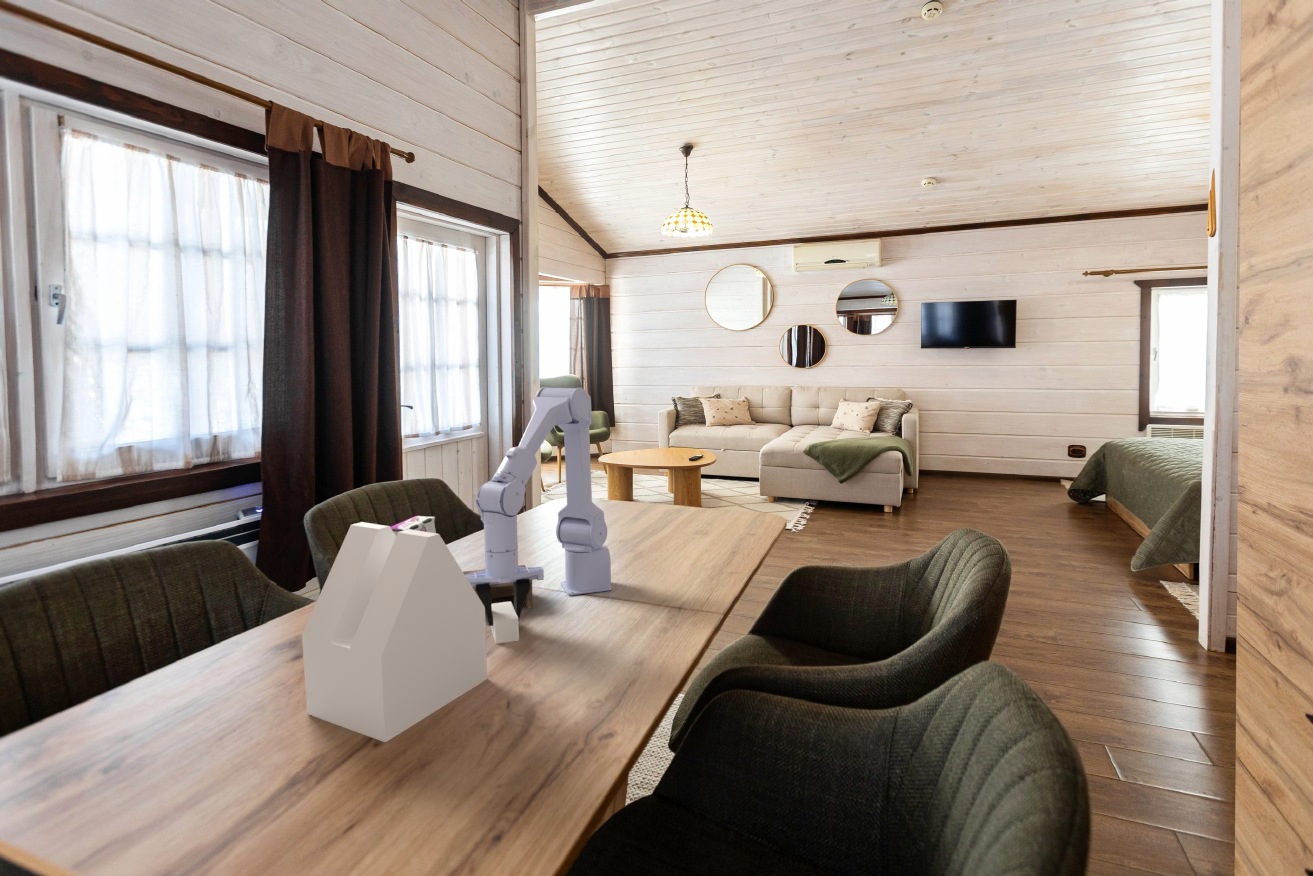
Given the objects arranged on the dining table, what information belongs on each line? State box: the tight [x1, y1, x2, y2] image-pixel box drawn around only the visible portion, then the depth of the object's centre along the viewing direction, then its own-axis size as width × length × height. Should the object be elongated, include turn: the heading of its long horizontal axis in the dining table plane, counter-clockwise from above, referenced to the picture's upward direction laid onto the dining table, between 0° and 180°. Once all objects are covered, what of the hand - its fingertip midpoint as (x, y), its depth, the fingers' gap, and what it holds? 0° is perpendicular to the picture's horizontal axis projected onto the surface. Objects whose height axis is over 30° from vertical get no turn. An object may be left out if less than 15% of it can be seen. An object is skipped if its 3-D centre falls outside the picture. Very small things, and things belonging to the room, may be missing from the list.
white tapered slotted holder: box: [301, 521, 488, 743], centre depth 96 cm, size 19×15×25 cm
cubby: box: [463, 564, 534, 609], centre depth 133 cm, size 14×9×6 cm, turn 110°
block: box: [489, 601, 520, 645], centre depth 120 cm, size 4×9×4 cm, turn 20°
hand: (503, 622), depth 119 cm, fingers closed on block, 4 cm apart
